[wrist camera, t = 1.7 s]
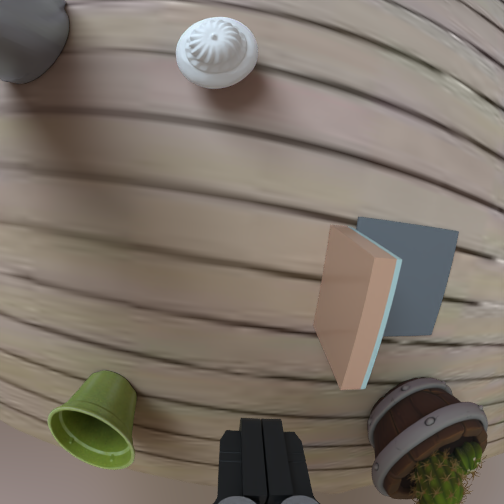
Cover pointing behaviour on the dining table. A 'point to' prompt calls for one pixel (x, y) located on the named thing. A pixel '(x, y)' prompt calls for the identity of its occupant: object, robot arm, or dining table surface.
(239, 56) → the white citrus juicer
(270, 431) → the robot arm
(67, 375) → the dining table surface
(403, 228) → the mat
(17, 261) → the dining table surface
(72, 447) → the plant pot
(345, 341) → the tile
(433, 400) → the flowerpot
